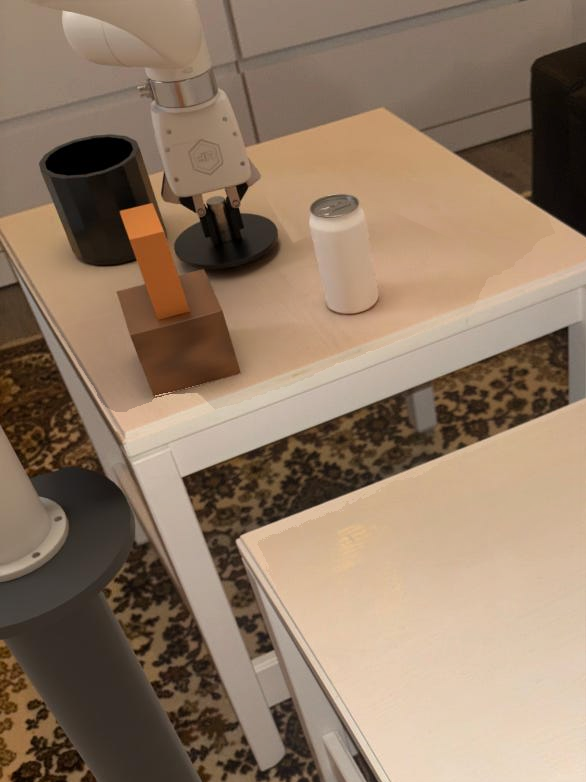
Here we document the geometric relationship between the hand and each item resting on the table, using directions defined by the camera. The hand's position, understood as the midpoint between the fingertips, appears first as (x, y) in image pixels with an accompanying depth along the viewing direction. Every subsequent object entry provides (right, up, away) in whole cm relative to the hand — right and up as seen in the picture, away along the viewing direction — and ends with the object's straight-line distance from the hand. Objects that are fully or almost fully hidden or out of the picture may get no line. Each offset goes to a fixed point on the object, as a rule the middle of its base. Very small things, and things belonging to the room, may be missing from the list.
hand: (225, 236), depth 129 cm
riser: (0, -21, -15) cm, 26 cm away
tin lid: (0, 0, +1) cm, 1 cm away
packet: (-1, -16, -21) cm, 26 cm away
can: (+18, -12, -9) cm, 23 cm away
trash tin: (-16, +2, +6) cm, 17 cm away
